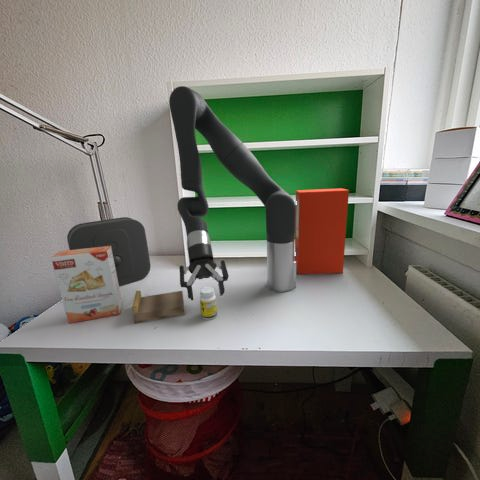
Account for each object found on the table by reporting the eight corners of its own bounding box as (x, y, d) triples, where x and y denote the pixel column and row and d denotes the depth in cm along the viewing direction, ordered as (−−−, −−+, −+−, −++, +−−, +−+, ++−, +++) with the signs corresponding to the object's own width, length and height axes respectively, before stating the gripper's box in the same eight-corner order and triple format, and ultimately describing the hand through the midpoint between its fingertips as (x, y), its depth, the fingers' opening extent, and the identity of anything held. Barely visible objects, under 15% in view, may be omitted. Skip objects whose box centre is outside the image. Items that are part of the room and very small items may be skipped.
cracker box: (67, 325, 72) (49, 256, 66) (75, 314, 78) (58, 250, 72) (120, 315, 75) (106, 250, 70) (123, 305, 81) (111, 244, 75)
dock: (183, 298, 84) (181, 284, 82) (184, 314, 74) (182, 298, 73) (139, 306, 80) (136, 291, 79) (134, 323, 71) (131, 306, 69)
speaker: (146, 271, 108) (137, 215, 101) (153, 277, 102) (144, 217, 95) (79, 291, 93) (63, 225, 86) (83, 299, 87) (66, 229, 80)
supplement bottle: (199, 313, 74) (197, 287, 72) (215, 309, 76) (212, 284, 74) (203, 321, 70) (200, 295, 68) (219, 317, 72) (217, 291, 69)
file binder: (343, 273, 97) (349, 190, 88) (298, 274, 98) (299, 192, 89) (336, 265, 104) (340, 188, 96) (294, 267, 105) (295, 190, 97)
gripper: (175, 244, 74) (181, 297, 67) (222, 239, 78) (232, 289, 70) (177, 256, 81) (182, 305, 73) (220, 250, 84) (229, 297, 76)
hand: (207, 297), depth 72 cm, fingers open, 8 cm apart
